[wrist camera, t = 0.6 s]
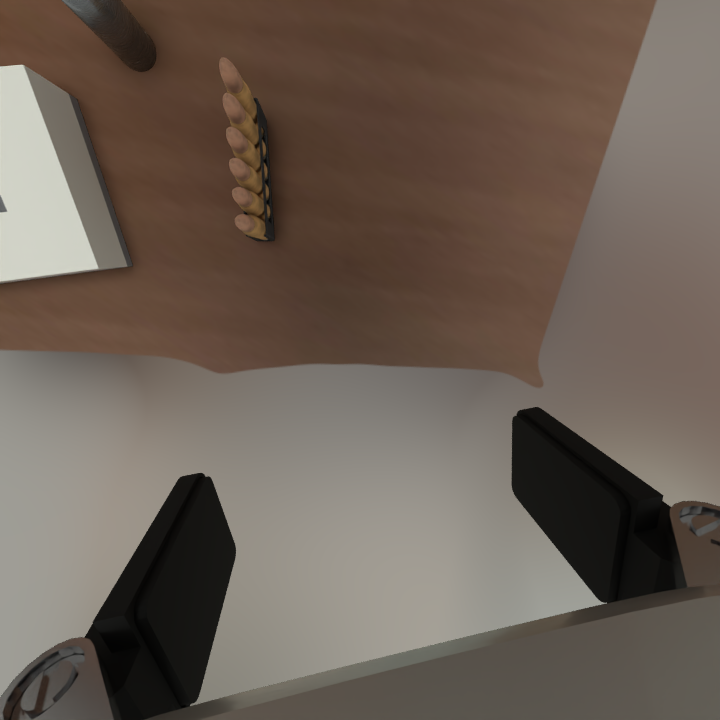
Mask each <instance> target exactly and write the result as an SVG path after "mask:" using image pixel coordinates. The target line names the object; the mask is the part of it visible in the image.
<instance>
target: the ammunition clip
mask: <svg viewBox="0 0 720 720" xmlns="http://www.w3.org/2000/svg"><path fill="white" fill-rule="evenodd" d="M219 68H220V74H221V77H222V79H223V82H224V84H225V87H226V89H227V93H225V94H224V95H223V106H224V109H225V111H226V114H227V116H228V118H229V120H230V124H231V126H232V127H228V128H227V130H226V137H227V140H228V142H229V145H230V146H231V148H232V150H233V153H234V155H235V157H236V158H232V159H230V161H229V167H230V170H231V172H232V174H233V175H234V176H235V177H236V180H237V182H238V183H239V184H240V186H241V187H235V188H234V189H233V190H232V196H233V198H234V200H235V201H236V202H237V203H238V204H239V206H240V208H241V209H242V210H243V211H244V214H240V215H238V216H236V218H235V224H236V226H237V227H238V228H239V229H240V230H242V231H243V232H244V233H245V234H246V236H247V237H250V238H252V239H254V240H256V241H274V239H275V238H274V224H273V209H272V194H271V179H270V164H269V149H268V135H267V120H266V118H265V116H264V113H263V111H262V109H261V106H260V104H259V102H258V99H257V98H253V96H252V94H251V92H250V89H249V87H248V86H247V85H246V83H245V82H244V81H243V79H242V77H241V76H240V74H239V72H238V70H237V69H236V67H235V66H234V65H233V64H232V63H231V62H230V61H229V60H228V59H227V58H224V57H222V58H221V59H220V61H219ZM247 213H248V214H249V215H248V214H247Z"/></svg>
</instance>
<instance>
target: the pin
mask: <svg viewBox="0 0 720 720" xmlns="http://www.w3.org/2000/svg"><path fill="white" fill-rule="evenodd" d="M62 1H63V2H64V3H65V4H66V5H67V6H68V7H69V8H70V9H71V10H72V11H73V12H74V13H75V14H76V15H77V16H78V17H79V18H80V19H81V20H82V21H83V22H84V23H85V24H86V25H87V26H88V27H89V28H90V29H91V30H92V31H93V32H94V33H95V34H96V35H97V36H98V37H99V38H100V39H101V40H102V41H103V42H104V43H105V44H106V45H107V46H108V47H109V48H110V49H111V50H112V51H113V52H114V53H115V54H116V55H117V56H118V57H119V58H120V59H121V60H122V61H123V62H124V63H125V64H126V65H127V66H129V67H130V68H132V69H133V70H136V71H147V70H149V69H150V68H151V67H152V66H153V65H154V63H155V60H156V50H155V46H154V44H153V42H152V40H151V38H150V37H149V36H148V34H147V33H146V32H145V31H144V29H143V28H142V27H141V25H140V24H139V23H138V22H137V20H136V19H135V18H134V16H133V15H132V14H131V12H130V11H129V10H128V9H127V7H126V6H125V5H124V3H123V2H122V1H121V0H62Z"/></svg>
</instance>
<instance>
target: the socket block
mask: <svg viewBox="0 0 720 720" xmlns="http://www.w3.org/2000/svg"><path fill="white" fill-rule="evenodd" d="M130 266H133V265H132V262H131V259H130V256H129V253H128V250H127V247H126V244H125V241H124V238H123V235H122V232H121V229H120V226H119V223H118V220H117V217H116V214H115V211H114V208H113V205H112V202H111V199H110V196H109V193H108V190H107V187H106V184H105V181H104V179H103V176H102V173H101V170H100V167H99V164H98V161H97V158H96V155H95V152H94V149H93V146H92V143H91V140H90V137H89V134H88V131H87V128H86V125H85V122H84V119H83V116H82V113H81V110H80V107H79V104H78V101H77V99H76V98H74V97H73V96H71V95H70V94H68V93H67V92H65V91H64V90H62V89H60V88H59V87H57V86H56V85H54V84H53V83H51V82H50V81H48V80H46V79H45V78H43V77H42V76H40V75H39V74H37V73H35V72H34V71H32V70H31V69H29V68H28V67H26V66H25V65H14V66H2V67H0V284H2V283H9V282H17V281H25V280H32V279H40V278H47V277H55V276H62V275H70V274H77V273H85V272H92V271H100V270H107V269H115V268H123V267H130Z"/></svg>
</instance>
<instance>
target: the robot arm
mask: <svg viewBox="0 0 720 720" xmlns="http://www.w3.org/2000/svg"><path fill="white" fill-rule="evenodd" d="M512 490H513V492H514V495H515V496H516V498H517V499H518V500H519V502H520V503H521V504H522V505H523V507H524V508H525V509H526V510H527V512H528V513H529V514H530V515H531V517H532V518H533V519H534V520H535V522H536V523H537V524H538V525H539V527H540V528H541V529H542V530H543V531H544V533H545V534H546V535H547V536H548V538H549V539H550V540H551V541H552V543H553V544H554V545H555V546H556V548H557V549H558V550H559V551H560V553H561V554H562V555H563V556H564V558H565V559H566V560H567V561H568V563H569V564H570V565H571V566H572V567H573V569H574V570H575V571H576V572H577V574H578V575H579V576H580V578H581V579H582V580H583V581H584V582H585V584H586V585H587V586H588V587H589V589H590V590H591V591H592V592H593V594H594V595H595V596H596V597H597V598H598V599H599V600H600V601H601V602H604V603H606V602H607V604H602V605H598V606H593V607H589V608H585V609H581V610H576V611H572V612H568V613H564V614H560V615H555V616H552V617H547V618H543V619H539V620H534V621H530V622H526V623H522V624H518V625H514V626H509V627H505V628H501V629H497V630H493V631H488V632H484V633H480V634H476V635H472V636H468V637H463V638H459V639H455V640H451V641H447V642H443V643H439V644H435V645H430V646H427V647H422V648H419V649H414V650H410V651H406V652H402V653H398V654H394V655H390V656H386V657H382V658H378V659H373V660H369V661H366V662H361V663H357V664H353V665H349V666H345V667H341V668H337V669H333V670H329V671H325V672H321V673H317V674H314V675H309V676H305V677H302V678H297V679H293V680H289V681H286V682H281V683H277V684H273V685H269V686H265V687H261V688H257V689H253V690H249V691H245V692H241V693H238V694H234V695H230V696H227V697H223V698H219V699H216V700H212V701H208V702H204V703H201V704H198V705H193V706H190V704H192V703H195V702H196V701H197V699H198V697H199V693H200V690H201V687H202V683H203V679H204V675H205V671H206V667H207V664H208V660H209V656H210V652H211V649H212V645H213V641H214V637H215V633H216V629H217V626H218V622H219V618H220V614H221V610H222V607H223V603H224V599H225V595H226V591H227V588H228V584H229V580H230V576H231V572H232V568H233V565H234V561H235V556H236V547H235V543H234V540H233V537H232V535H231V532H230V529H229V526H228V523H227V520H226V518H225V515H224V512H223V509H222V506H221V504H220V501H219V498H218V495H217V492H216V490H215V487H214V484H213V481H212V479H211V478H210V477H205V475H204V474H203V473H197V474H192V475H187V476H182V477H180V478H179V479H178V481H177V482H176V484H175V486H174V487H173V489H172V491H171V492H170V494H169V496H168V498H167V499H166V501H165V502H164V504H163V506H162V507H161V509H160V511H159V513H158V514H157V516H156V517H155V519H154V521H153V523H152V524H151V526H150V527H149V529H148V531H147V532H146V534H145V536H144V537H143V539H142V541H141V542H140V544H139V546H138V547H137V549H136V551H135V553H134V554H133V556H132V558H131V559H130V561H129V563H128V564H127V566H126V567H125V569H124V571H123V573H122V574H121V576H120V578H119V579H118V581H117V583H116V584H115V586H114V588H113V589H112V591H111V592H110V594H109V596H108V598H107V599H106V601H105V602H104V604H103V606H102V607H101V609H100V611H99V612H98V614H97V616H96V617H95V619H94V621H93V624H92V626H91V627H90V629H89V631H88V633H87V634H86V636H85V638H83V637H79V638H72V639H69V640H66V641H64V642H62V643H59V644H57V645H55V646H54V647H52V648H51V649H49V650H47V651H46V652H44V653H42V654H41V655H40V656H39V657H37V658H36V659H35V660H34V661H33V662H31V663H30V664H29V665H28V666H27V667H26V668H25V669H24V670H23V671H22V672H21V673H20V674H19V675H18V676H17V677H16V678H15V679H14V680H13V681H12V682H11V684H10V685H9V686H8V688H7V689H6V690H5V692H4V693H3V694H2V695H1V697H0V720H720V506H716V505H713V504H709V503H705V502H698V501H682V502H679V503H676V504H674V505H673V506H672V507H670V506H669V505H667V504H666V503H664V502H663V501H662V499H663V495H662V494H660V493H659V492H658V491H656V490H655V489H653V488H652V487H651V486H649V485H648V484H646V483H645V482H643V481H642V480H641V479H639V478H638V477H637V476H635V475H634V474H632V473H631V472H630V471H628V470H627V469H625V468H624V467H622V466H621V465H620V464H618V463H617V462H615V461H614V460H612V459H611V458H610V457H608V456H607V455H606V454H604V453H603V452H601V451H600V450H598V449H597V448H596V447H594V446H593V445H592V444H590V443H589V442H587V441H586V440H584V439H583V438H582V437H580V436H579V435H577V434H576V433H575V432H573V431H572V430H570V429H569V428H568V427H566V426H565V425H563V424H562V423H561V422H559V421H558V420H556V419H555V418H553V417H552V416H550V415H549V414H548V413H546V412H545V411H544V410H542V409H541V408H539V407H534V408H529V409H524V410H520V411H518V413H517V416H514V417H513V421H512Z"/></svg>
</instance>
